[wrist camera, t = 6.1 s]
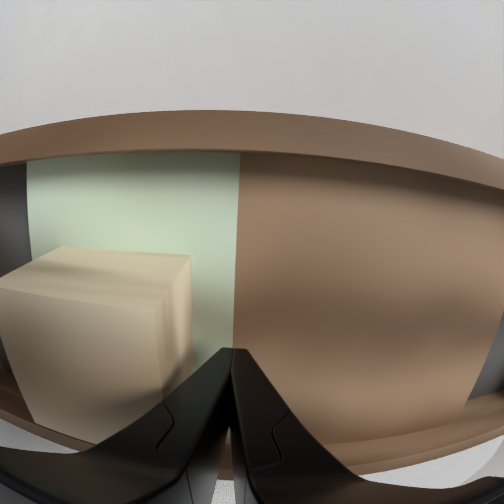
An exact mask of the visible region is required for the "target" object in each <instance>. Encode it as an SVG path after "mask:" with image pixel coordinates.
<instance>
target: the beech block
mask: <svg viewBox="0 0 504 504" xmlns="http://www.w3.org/2000/svg"><path fill="white" fill-rule="evenodd" d="M0 336H1V339H2V342H3V345H4V348H5V351H6V354H7V357H8V360H9V363H10V366H11V368H12V371H13V374H14V376H15V379H16V381H17V384H18V386H19V389H20V391H21V393H22V396H23V398H24V400H25V402H26V405H27V407H28V409H29V411H30V413H31V415H32V417H33V419H34V421H35V423H37V424H39V425H42V426H44V427H47V428H49V429H52V430H55V431H57V432H60V433H63V434H66V435H69V436H72V437H75V438H78V439H81V440H84V441H87V442H91V443H94V444H98V443H100V442H102V441H103V440H105V439H107V438H108V437H110V436H112V435H113V434H115V433H117V432H118V431H120V430H122V429H123V428H125V427H126V426H128V425H129V424H131V423H133V422H134V421H136V420H137V419H138V418H140V417H141V416H143V415H144V414H145V413H146V412H148V411H149V410H150V409H152V408H153V407H154V406H155V405H156V404H158V403H159V402H161V401H162V399H164V398H165V397H166V396H167V395H168V394H169V393H171V392H172V391H173V390H174V389H175V388H176V387H178V386H179V385H180V384H181V383H182V382H183V381H184V380H186V379H187V378H188V377H189V376H190V375H191V374H192V373H193V372H194V352H193V323H192V255H182V254H166V253H150V252H134V251H118V250H103V249H87V248H72V247H59V248H57V249H55V250H53V251H51V252H49V253H47V254H45V255H43V256H41V257H39V258H37V259H35V260H33V261H31V262H29V263H27V264H25V265H23V266H21V267H19V268H18V269H16V270H14V271H12V272H10V273H8V274H6V275H4V276H3V277H1V278H0Z"/></svg>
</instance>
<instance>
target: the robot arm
mask: <svg viewBox="0 0 504 504" xmlns="http://www.w3.org/2000/svg"><path fill="white" fill-rule="evenodd" d="M229 428H230V441H231V454H232V466H233V478H234V489H235V500H236V504H504V477H491V476H487V477H483V478H480V479H478V480H475V481H473V482H471V483H468V484H466V485H462V486H459V487H454V488H445V489H429V488H417V487H408V486H399V485H392V484H385V483H378V482H372V481H368V480H365V479H363V478H361V477H359V476H357V475H356V474H354V473H353V472H352V471H350V470H349V469H348V468H347V467H346V466H345V465H343V464H342V463H341V462H340V461H339V460H338V459H337V458H336V457H335V456H333V455H332V454H331V453H330V452H329V451H328V450H327V449H326V448H325V447H324V446H323V445H322V444H320V443H319V442H318V441H317V440H316V439H315V438H314V437H313V436H312V435H311V434H310V432H309V431H308V430H307V429H306V428H305V427H304V426H303V424H302V423H301V422H300V421H299V420H298V418H297V417H296V416H295V414H294V413H293V412H292V411H291V409H290V408H289V406H288V405H287V404H286V402H285V401H284V400H283V398H282V397H281V396H280V394H279V393H278V392H277V390H276V389H275V387H274V386H273V385H272V383H271V382H270V381H269V379H268V378H267V376H266V375H265V374H264V372H263V371H262V369H261V368H260V367H259V365H258V364H257V362H256V361H255V360H254V358H253V357H252V355H251V354H250V352H249V351H248V350H247V349H244V348H228V347H222V348H220V349H219V350H218V351H217V352H216V353H215V354H214V355H213V356H211V357H210V358H209V359H208V360H207V361H206V362H205V363H204V364H202V365H201V366H200V367H199V368H198V369H197V370H196V371H195V372H193V373H192V374H191V375H190V376H189V377H188V378H187V379H186V380H184V381H183V382H182V383H181V384H180V385H179V386H178V387H176V388H175V389H174V390H173V391H172V392H171V393H169V394H168V395H167V396H166V397H165V398H164V399H162V401H161V402H159V403H158V404H156V405H155V406H154V407H153V408H152V409H150V410H149V411H148V412H146V413H145V414H144V415H143V416H141V417H140V418H138V419H137V420H136V421H134V422H133V423H131V424H129V425H128V426H126V427H125V428H123V429H122V430H120V431H118V432H117V433H115V434H113V435H112V436H110V437H108V438H107V439H105V440H103V441H102V442H100V443H98V444H96V445H95V446H93V447H91V448H89V449H87V450H84V451H82V452H78V453H72V454H62V453H48V452H37V451H27V450H19V449H12V448H6V447H1V446H0V504H211V501H212V497H213V493H214V489H215V485H216V481H217V477H218V472H219V468H220V464H221V460H222V456H223V451H224V447H225V443H226V438H227V434H228V430H229Z"/></svg>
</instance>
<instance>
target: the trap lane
mask: <svg viewBox="0 0 504 504" xmlns="http://www.w3.org/2000/svg"><path fill="white" fill-rule="evenodd" d="M59 247H72V248H87V249H103V250H118V251H134V252H150V253H166V254H182V255H192V323H193V352H194V372H195V371H196V370H197V369H198V368H199V367H200V366H201V365H202V364H204V363H205V362H206V361H207V360H208V359H209V358H210V357H211V356H213V355H214V354H215V353H216V352H217V351H218V350H219V349H220V348H222V347H228V348H244V349H247V350H248V351H249V352H250V354H251V355H252V357H253V358H254V360H255V361H256V362H257V364H258V365H259V367H260V368H261V369H262V371H263V372H264V374H265V375H266V376H267V378H268V379H269V381H270V382H271V383H272V385H273V386H274V387H275V389H276V390H277V392H278V393H279V394H280V396H281V397H282V398H283V400H284V401H285V402H286V404H287V405H288V406H289V408H290V409H291V411H292V412H293V413H294V414H295V416H296V417H297V418H298V420H299V421H300V422H301V423H302V424H303V426H304V427H305V428H306V429H307V430H308V431H309V432H310V434H311V435H312V436H313V437H314V438H315V439H316V440H317V441H318V442H319V443H320V444H322V445H323V446H324V447H325V448H326V449H327V450H328V451H329V452H330V453H331V454H332V455H333V456H335V457H336V458H337V459H338V460H339V461H340V462H341V463H342V464H343V465H345V466H346V467H347V468H348V469H349V470H350V471H352V472H353V473H354V474H356V475H357V476H358V475H365V474H371V473H377V472H382V471H388V470H393V469H397V468H402V467H407V466H411V465H415V464H419V463H423V462H427V461H430V460H434V459H437V458H441V457H444V456H447V455H450V454H454V453H457V452H460V451H463V450H465V449H468V448H471V447H474V446H477V445H479V444H482V443H484V442H487V441H489V440H492V439H494V438H497V437H499V436H501V435H504V159H501V158H498V157H495V156H492V155H489V154H486V153H483V152H480V151H477V150H474V149H471V148H468V147H464V146H461V145H457V144H454V143H450V142H447V141H443V140H439V139H435V138H431V137H427V136H423V135H419V134H415V133H410V132H406V131H401V130H397V129H392V128H387V127H381V126H376V125H370V124H365V123H359V122H352V121H346V120H339V119H332V118H324V117H315V116H306V115H296V114H285V113H272V112H256V111H229V110H183V111H157V112H141V113H128V114H117V115H107V116H99V117H91V118H83V119H76V120H70V121H63V122H58V123H52V124H46V125H41V126H36V127H31V128H27V129H22V130H18V131H13V132H9V133H5V134H1V135H0V278H1V277H3V276H4V275H6V274H8V273H10V272H12V271H14V270H16V269H18V268H19V267H21V266H23V265H25V264H27V263H29V262H31V261H33V260H35V259H37V258H39V257H41V256H43V255H45V254H47V253H49V252H51V251H53V250H55V249H57V248H59ZM0 418H1V419H3V420H5V421H7V422H9V423H11V424H13V425H15V426H17V427H20V428H22V429H24V430H26V431H28V432H31V433H33V434H35V435H38V436H40V437H42V438H45V439H47V440H50V441H52V442H55V443H58V444H60V445H63V446H66V447H69V448H72V449H74V450H77V451H80V452H82V451H84V450H87V449H89V448H91V447H93V446H95V445H96V444H94V443H91V442H87V441H84V440H81V439H78V438H75V437H72V436H69V435H66V434H63V433H60V432H57V431H55V430H52V429H49V428H47V427H44V426H42V425H39V424H37V423H35V421H34V419H33V417H32V415H31V413H30V411H29V409H28V407H27V405H26V402H25V400H24V398H23V396H22V393H21V391H20V389H19V386H18V384H17V381H16V379H15V376H14V374H13V371H12V368H11V366H10V363H9V360H8V357H7V354H6V351H5V348H4V345H3V342H2V339H1V336H0ZM217 479H219V480H233V481H234V478H233V466H232V454H231V441H230V428H229V430H228V434H227V438H226V443H225V447H224V451H223V456H222V460H221V464H220V468H219V472H218V477H217Z"/></svg>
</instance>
